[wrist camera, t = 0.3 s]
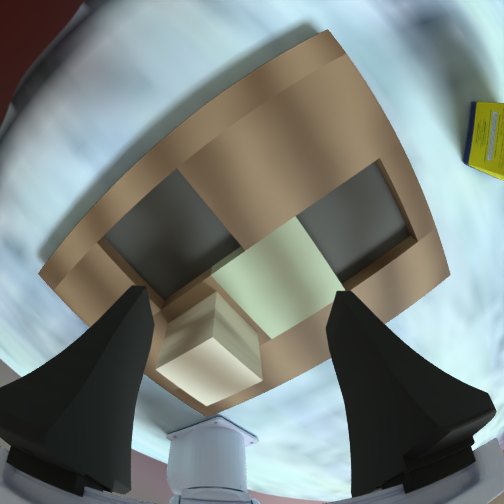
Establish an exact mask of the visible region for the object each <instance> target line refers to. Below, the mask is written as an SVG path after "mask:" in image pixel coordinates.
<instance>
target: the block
mask: <svg viewBox="0 0 504 504" xmlns="http://www.w3.org/2000/svg"><path fill="white" fill-rule="evenodd" d="M155 370H157V371H158V372H159V373H161V374H162V375H163V376H165V377H166V378H167V379H169V380H170V381H171V382H173V383H174V384H175V385H177V386H178V387H179V388H181V389H182V390H184V391H185V392H186V393H188V394H189V395H191V396H192V397H194V398H195V399H197V400H198V401H199V402H201V403H202V404H204V405H205V406H208V405H211V404H213V403H215V402H218V401H220V400H222V399H225V398H227V397H229V396H231V395H233V394H236V393H238V392H240V391H242V390H244V389H246V388H248V387H251V386H253V385H255V384H257V383H259V382H261V381H263V377H262V368H261V359H260V350H259V341H258V333H257V332H256V331H255V330H254V329H253V328H252V327H251V326H250V325H249V324H248V323H247V322H246V321H245V320H244V319H243V318H242V317H241V316H240V315H239V314H238V313H237V312H236V311H235V310H234V309H233V308H232V307H231V306H230V304H229V303H228V302H227V301H226V300H225V299H224V298H223V297H222V296H221V295H220V294H219V293H218V292H217V291H216V292H215V293H213V294H212V295H210V296H209V297H207V298H206V299H204V300H203V301H201V302H200V303H198V304H197V305H195V306H194V307H192V308H191V309H189V310H188V311H186V312H185V313H183V314H182V315H180V316H179V317H177V318H176V319H174V320H173V321H171V322H170V323H168V325H167V329H166V333H165V336H164V340H163V343H162V347H161V351H160V354H159V358H158V362H157V366H156V369H155Z"/></svg>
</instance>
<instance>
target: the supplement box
mask: <svg viewBox="0 0 504 504" xmlns="http://www.w3.org/2000/svg"><path fill="white" fill-rule="evenodd" d="M464 164H466V165H468V166H470V167H473V168H475V169H477V170H479V171H481V172H484V173H486V174H488V175H491V176H493V177H495V178H497V179H500V180H503V181H504V103H494V102H471V106H470V119H469V127H468V135H467V142H466V149H465V157H464Z"/></svg>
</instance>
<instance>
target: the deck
mask: <svg viewBox="0 0 504 504" xmlns="http://www.w3.org/2000/svg"><path fill="white" fill-rule="evenodd" d="M38 274H39V275H40V276H41V278H42V279H43V280H44V281H45V282H46V283H47V284H48V285H49V287H50V288H51V289H52V290H53V291H54V292H55V293H56V294H57V295H58V296H59V297H60V298H61V300H62V301H63V302H64V303H65V304H66V305H67V306H68V307H69V308H70V309H71V310H72V311H73V312H74V313H75V314H76V315H77V316H78V317H79V318H80V319H81V320H82V321H83V322H84V323H86V324H87V325H88V326H89V327H91V326H92V325H93V324H94V323H95V322H96V321H97V320H98V319H99V318H100V317H101V316H102V315H103V314H104V313H105V312H106V311H107V310H108V309H109V308H110V307H111V306H112V305H113V304H114V303H115V302H116V301H117V300H118V299H119V298H120V297H121V296H122V295H123V294H124V293H125V292H126V291H127V290H128V289H129V288H130V287H131V286H132V285H136V286H147V291H148V296H149V301H150V306H151V310H152V315H153V319H154V324H155V326H154V332H153V338H152V344H151V349H150V352H149V356H148V359H147V363H146V366H145V370H144V374H145V375H146V376H148V377H149V378H150V379H152V380H153V381H154V382H156V383H157V384H158V385H160V386H161V387H163V388H164V389H165V390H167V391H168V392H170V393H171V394H172V395H174V396H175V397H177V398H178V399H180V400H181V401H183V402H184V403H186V404H187V405H189V406H190V407H192V408H193V409H195V410H196V411H198V412H199V413H201V414H203V415H204V416H206V417H209V416H211V415H214V414H216V413H219V412H221V411H224V410H226V409H229V408H231V407H233V406H236V405H238V404H240V403H243V402H245V401H247V400H249V399H252V398H254V397H256V396H258V395H260V394H262V393H265V392H267V391H269V390H271V389H273V388H275V387H277V386H279V385H281V384H283V383H285V382H287V381H289V380H291V379H293V378H295V377H297V376H299V375H301V374H302V373H304V372H306V371H308V370H310V369H312V368H314V367H315V366H317V365H319V364H321V363H323V362H324V361H326V360H328V359H330V358H331V355H330V352H329V347H328V341H327V335H326V325H327V321H328V318H329V315H330V312H331V308H332V305H333V302H334V298H335V295H336V291H352V292H353V293H354V294H355V295H356V296H357V297H358V298H359V299H360V300H361V301H362V302H363V303H364V304H365V305H366V306H367V307H368V308H369V309H370V310H371V311H372V312H373V313H374V314H375V315H376V316H377V317H378V318H379V319H380V320H381V321H382V322H383V323H384V324H386V323H387V322H389V321H390V320H391V319H393V318H394V317H396V316H397V315H399V314H400V313H401V312H403V311H404V310H406V309H407V308H408V307H410V306H411V305H413V304H414V303H415V302H417V301H418V300H419V299H421V298H422V297H423V296H425V295H426V294H427V293H428V292H430V291H431V290H432V289H434V288H435V287H436V286H437V285H439V284H440V283H441V282H442V281H444V280H445V279H446V278H447V277H449V276H450V271H449V268H448V264H447V260H446V257H445V254H444V250H443V247H442V244H441V241H440V238H439V235H438V232H437V229H436V226H435V223H434V220H433V217H432V215H431V212H430V209H429V207H428V204H427V201H426V199H425V196H424V194H423V191H422V189H421V186H420V184H419V182H418V179H417V177H416V175H415V173H414V170H413V168H412V166H411V164H410V162H409V159H408V157H407V155H406V153H405V151H404V149H403V147H402V145H401V143H400V141H399V139H398V137H397V135H396V133H395V131H394V129H393V128H392V126H391V124H390V122H389V120H388V118H387V117H386V115H385V113H384V111H383V110H382V108H381V106H380V104H379V103H378V101H377V99H376V98H375V96H374V94H373V93H372V91H371V90H370V88H369V86H368V85H367V83H366V82H365V80H364V79H363V77H362V75H361V74H360V72H359V71H358V70H357V68H356V67H355V65H354V64H353V62H352V61H351V59H350V58H349V57H348V55H347V54H346V52H345V51H344V50H343V48H342V47H341V46H340V44H339V43H338V42H337V40H336V39H335V38H334V36H333V35H332V34H331V33H330V31H329V30H328V29H327V30H325V31H323V32H321V33H319V34H317V35H315V36H313V37H311V38H309V39H308V40H306V41H304V42H302V43H300V44H298V45H296V46H295V47H293V48H291V49H289V50H288V51H286V52H284V53H282V54H281V55H279V56H277V57H276V58H274V59H272V60H271V61H269V62H267V63H266V64H264V65H262V66H261V67H259V68H258V69H256V70H255V71H253V72H251V73H250V74H248V75H247V76H245V77H244V78H242V79H241V80H239V81H238V82H236V83H235V84H233V85H232V86H231V87H229V88H228V89H226V90H225V91H223V92H222V93H221V94H219V95H218V96H216V97H215V98H214V99H212V100H211V101H210V102H208V103H207V104H206V105H204V106H203V107H202V108H200V109H199V110H198V111H196V112H195V113H194V114H193V115H191V116H190V117H189V118H188V119H186V120H185V121H184V122H183V123H181V124H180V125H179V126H178V127H176V128H175V129H174V130H173V131H172V132H170V133H169V134H168V135H167V136H166V137H165V138H163V139H162V140H161V141H160V142H159V143H158V144H156V145H155V146H154V147H153V148H152V149H151V150H150V151H149V152H147V153H146V154H145V155H144V156H143V157H142V158H141V159H140V160H139V161H138V162H137V163H136V164H134V165H133V166H132V167H131V168H130V169H129V170H128V171H127V172H126V173H125V174H124V175H123V176H122V177H121V178H120V179H119V180H118V181H117V182H116V183H115V184H114V185H113V186H112V187H111V188H110V189H109V190H108V191H107V192H106V193H105V194H104V195H103V196H102V197H101V198H100V200H99V201H98V202H97V203H96V204H95V205H94V206H93V207H92V208H91V209H90V210H89V212H88V213H87V214H86V215H85V216H84V217H83V218H82V219H81V221H80V222H79V223H78V224H77V225H76V226H75V227H74V229H73V230H72V231H71V232H70V233H69V235H68V236H67V237H66V238H65V239H64V241H63V242H62V243H61V244H60V246H59V247H58V248H57V249H56V251H55V252H54V253H53V254H52V256H51V257H50V258H49V260H48V261H47V262H46V264H45V265H44V266H43V268H42V269H41V270H40V272H39V273H38ZM216 291H217V292H218V293H219V294H220V295H221V296H222V297H223V298H224V299H225V300H226V301H227V302H228V303H229V304H230V306H231V307H232V308H233V309H234V310H235V311H236V312H237V313H238V314H239V315H240V316H241V317H242V318H243V319H244V320H245V321H246V322H247V323H248V324H249V325H250V326H251V327H252V328H253V329H254V330H255V331H256V332H257V333H258V341H259V350H260V359H261V368H262V377H263V381H261V382H259V383H257V384H255V385H253V386H251V387H248V388H246V389H244V390H242V391H240V392H238V393H236V394H233V395H231V396H229V397H227V398H225V399H222V400H220V401H218V402H215V403H213V404H211V405H208V406H205V405H204V404H202V403H201V402H199V401H198V400H197V399H195V398H194V397H192V396H191V395H189V394H188V393H186V392H185V391H184V390H182V389H181V388H179V387H178V386H177V385H175V384H174V383H173V382H171V381H170V380H169V379H167V378H166V377H165V376H163V375H162V374H161V373H159V372H158V371H157V370H155V369H156V366H157V362H158V358H159V354H160V351H161V347H162V343H163V340H164V336H165V333H166V329H167V325H168V323H170V322H171V321H173V320H174V319H176V318H177V317H179V316H180V315H182V314H183V313H185V312H186V311H188V310H189V309H191V308H192V307H194V306H195V305H197V304H198V303H200V302H201V301H203V300H204V299H206V298H207V297H209V296H210V295H212V294H213V293H215V292H216Z"/></svg>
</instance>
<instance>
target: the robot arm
mask: <svg viewBox="0 0 504 504" xmlns="http://www.w3.org/2000/svg"><path fill="white" fill-rule="evenodd" d="M154 326H155V324H154V319H153V315H152V310H151V306H150V301H149V296H148V291H147V286H136V285H132V286H131V287H130V288H129V289H128V290H127V291H126V292H125V293H124V294H123V295H122V296H121V297H120V298H119V299H118V300H117V301H116V302H115V303H114V304H113V305H112V306H111V307H110V308H109V309H108V310H107V311H106V312H105V313H104V314H103V315H102V316H101V317H100V318H99V319H98V320H97V321H96V322H95V323H94V324H93V325H92V326H91V327H90V328H89V329H88V330H87V331H86V332H85V333H84V334H83V335H81V336H80V337H79V338H78V339H77V340H76V341H74V342H73V343H72V344H71V345H70V346H68V347H67V348H66V349H65V350H63V351H62V352H61V353H59V354H58V355H57V356H55V357H54V358H52V359H51V360H49V361H48V362H46V363H45V364H43V365H42V366H41V367H39V368H37V369H36V370H34V371H32V372H31V373H29V374H27V375H25V376H23V377H22V378H20V379H18V380H16V381H14V382H12V383H9V384H7V385H5V386H3V387H0V438H2V439H3V440H4V441H5V442H7V443H8V444H9V445H11V448H10V451H8V450H6V449H4V448H3V447H1V446H0V504H155V503H150V502H144V501H139V500H134V499H130V498H125V497H121V496H117V495H113V494H109V493H106V492H103V490H104V491H108V492H111V493H112V492H116V493H120V494H126V493H128V492H129V491H130V490H131V442H132V430H133V421H134V413H135V405H136V400H137V395H138V391H139V388H140V384H141V380H142V377H143V373H144V370H145V366H146V363H147V359H148V356H149V352H150V349H151V344H152V338H153V332H154ZM326 335H327V341H328V347H329V352H330V355H331V358H332V362H333V365H334V369H335V372H336V375H337V379H338V382H339V385H340V389H341V392H342V396H343V400H344V404H345V410H346V416H347V423H348V431H349V440H350V452H351V494H352V498H350V499H345V500H340V501H335V502H330V503H325V504H488V503H489V502H491V501H492V500H493V499H494V498H496V497H497V496H498V495H500V494H501V493H502V492H504V455H503V452H502V450H501V447H500V444H499V442H498V439H497V438H494V439H493V440H491V441H489V442H488V443H486V444H484V445H482V446H481V447H479V448H477V449H476V450H474V451H472V448H471V446H472V445H473V444H474V442H475V441H474V439H473V435H474V434H476V433H477V432H478V431H479V430H480V429H482V428H483V427H484V426H485V425H486V424H487V423H488V422H489V421H491V420H492V418H493V417H494V416H495V414H496V409H495V407H494V404H493V402H492V400H491V398H490V396H489V394H488V393H486V392H484V391H482V390H479V389H477V388H475V387H472V386H470V385H468V384H466V383H464V382H462V381H460V380H458V379H456V378H454V377H452V376H451V375H449V374H447V373H445V372H444V371H442V370H441V369H439V368H438V367H436V366H435V365H433V364H431V363H430V362H429V361H427V360H426V359H424V358H423V357H422V356H420V355H419V354H418V353H417V352H415V351H414V350H413V349H411V348H410V347H409V346H408V345H407V344H405V343H404V342H403V341H402V340H401V339H400V338H399V337H398V336H397V335H395V334H394V333H393V332H392V331H391V330H390V329H389V328H388V327H387V326H386V325H385V324H384V323H383V322H382V321H381V320H380V319H379V318H378V317H377V316H376V315H375V314H374V313H373V312H372V311H371V310H370V309H369V308H368V307H367V306H366V305H365V304H364V303H363V302H362V301H361V300H360V299H359V298H358V297H357V296H356V295H355V294H354V293H353V292H352V291H336V295H335V298H334V302H333V305H332V308H331V312H330V315H329V318H328V321H327V325H326ZM166 438H167V439H169V440H171V444H170V452H169V459H168V468H167V481H168V484H169V487H170V488H171V490H172V492H173V493H174V494H176V495H175V496H173V497H172V498H171V499H170V503H169V504H261V503H260V502H258V501H257V499H251V494H250V492H247V476H246V457H245V447H246V446H249V445H252V444H255V443H258V442H259V440H258V438H256V437H254V436H252V435H251V434H249V433H247V432H245V431H244V430H242V429H240V428H238V427H237V426H235V425H233V424H232V423H230V422H228V421H227V420H225V419H223V418H222V417H215V418H213V419H210V420H208V421H205V422H202V423H200V424H197V425H194V426H191V427H188V428H185V429H183V430H180V431H177V432H174V433H171V434H167V436H166Z"/></svg>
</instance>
